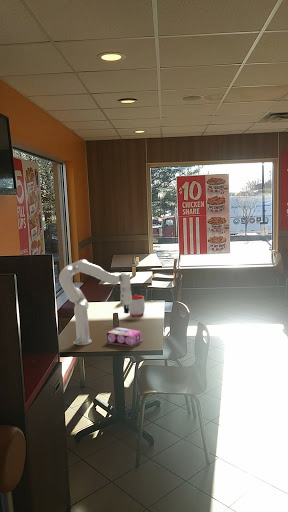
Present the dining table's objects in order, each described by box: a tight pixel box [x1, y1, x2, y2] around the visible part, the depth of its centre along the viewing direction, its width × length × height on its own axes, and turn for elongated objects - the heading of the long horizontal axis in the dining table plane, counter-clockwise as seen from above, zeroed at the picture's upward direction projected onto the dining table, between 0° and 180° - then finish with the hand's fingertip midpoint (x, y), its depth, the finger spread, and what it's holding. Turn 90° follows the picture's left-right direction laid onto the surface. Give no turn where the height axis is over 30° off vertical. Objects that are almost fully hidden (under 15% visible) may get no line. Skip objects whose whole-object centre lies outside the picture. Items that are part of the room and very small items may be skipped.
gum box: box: [106, 326, 143, 347], centre depth 322 cm, size 24×8×14 cm
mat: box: [107, 339, 145, 348], centre depth 323 cm, size 15×23×1 cm, turn 61°
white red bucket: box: [128, 293, 146, 318], centre depth 394 cm, size 16×17×20 cm
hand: (126, 313), depth 324 cm, fingers closed
